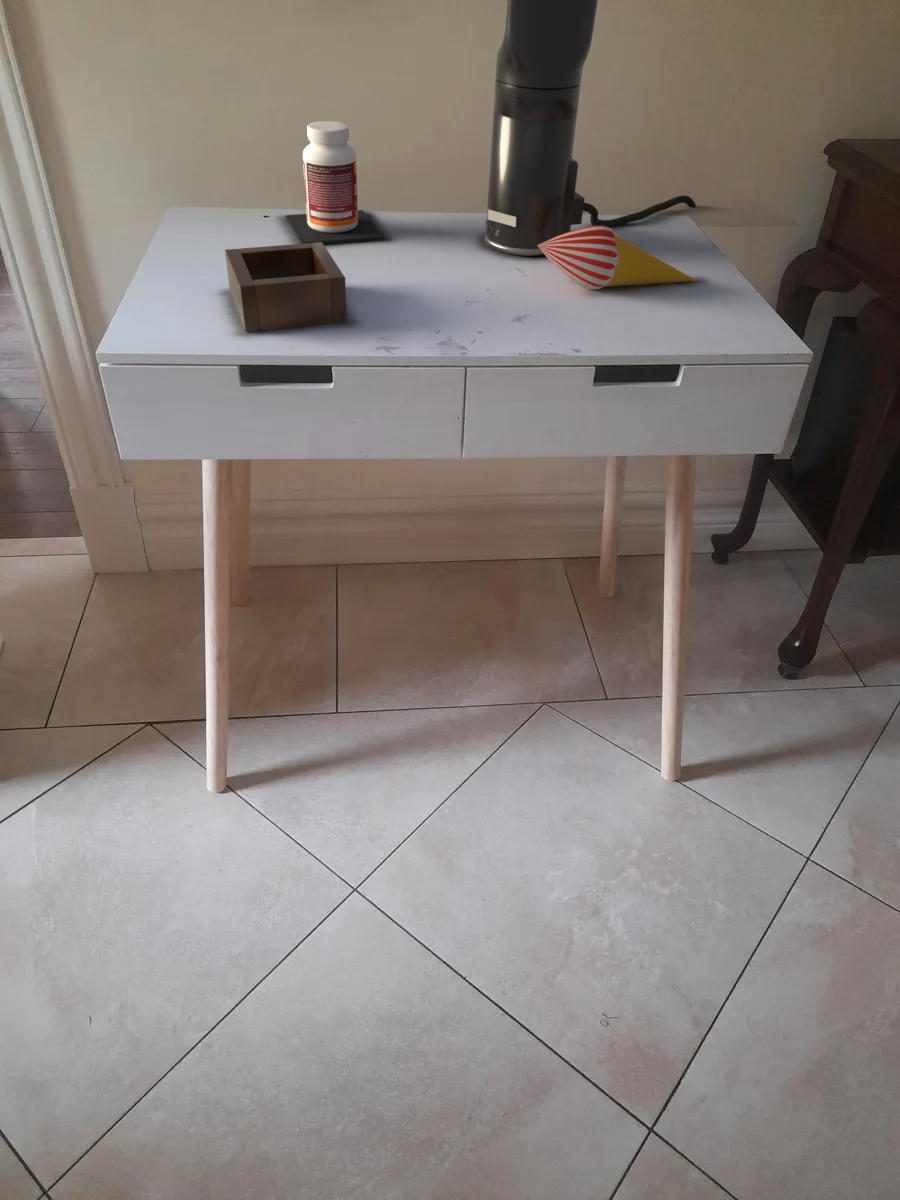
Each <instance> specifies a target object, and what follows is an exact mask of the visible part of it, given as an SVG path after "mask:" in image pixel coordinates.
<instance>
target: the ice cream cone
mask: <svg viewBox="0 0 900 1200" xmlns="http://www.w3.org/2000/svg"><path fill="white" fill-rule="evenodd" d="M537 246H538V247H539V248H540V249H541V251H542V252H543V253H544V254H545V257H546V258H547V259H548V261H549V262H551V263H552V265H554V266H555V267H556V269H557V270H559V271H560V272H561V273H562V274H563V275H564V276H565V277H566V278H568V279H569V280H571V281H572V282H573V283H574V284H576V285H578V286H579V287H582V288H584V289H588V290H600V289H602V288H605V287H619V286H620V287H621V286H637V285H650V284H651V285H652V284H653V285H654V284H666V283H667V284H668V283H683V282H684V283H685V282H698V280H697V279H695V278H693V277H692V276H689V275H688V274H686V273H684V272H683V271H680V270H679V269H677V268H676V267H673V266H671V265H670V264H668V263H666V262H664V261H663V260H661V259H659V258H657V257H655V256H654V255H652V254H650V253H649V252H647V251H645V250H643V249H641V248H640V247H638V246H636V245H634V244H633V243H631V242H629V241H628V240H625V239H623V238H622V237H620V236H618V235H617V233H616V232H615V230H614V229H613V228H612V227H606V226H600V225H597V226H593V225H590V226H585V227H580V228H578V229H574V230H570V232H567V233H565V234H562V235H559V236H556V237H554V238H552V239H550V240H548V241H546V242H543V243H541V244H539V245H537Z"/></svg>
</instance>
